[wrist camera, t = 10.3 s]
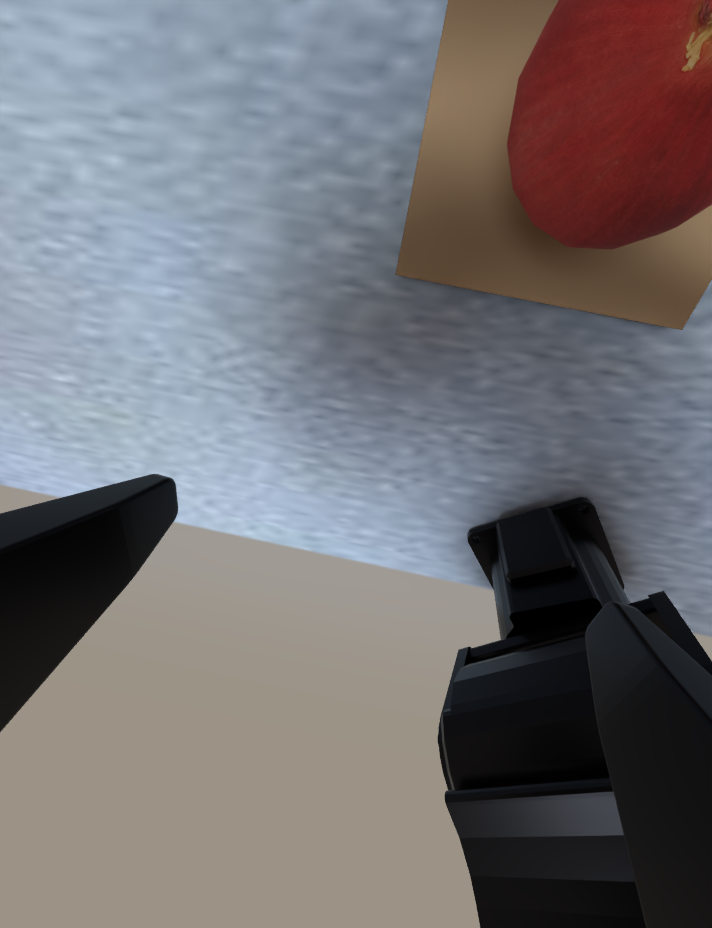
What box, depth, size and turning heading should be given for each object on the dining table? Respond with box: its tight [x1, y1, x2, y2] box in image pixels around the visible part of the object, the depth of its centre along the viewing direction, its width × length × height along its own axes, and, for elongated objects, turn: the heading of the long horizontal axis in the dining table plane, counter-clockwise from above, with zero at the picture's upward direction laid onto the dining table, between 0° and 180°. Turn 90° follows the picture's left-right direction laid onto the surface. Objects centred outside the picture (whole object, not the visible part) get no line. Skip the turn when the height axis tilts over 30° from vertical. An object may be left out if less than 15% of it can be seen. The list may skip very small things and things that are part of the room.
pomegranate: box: [507, 0, 712, 249], centre depth 8 cm, size 6×6×8 cm
